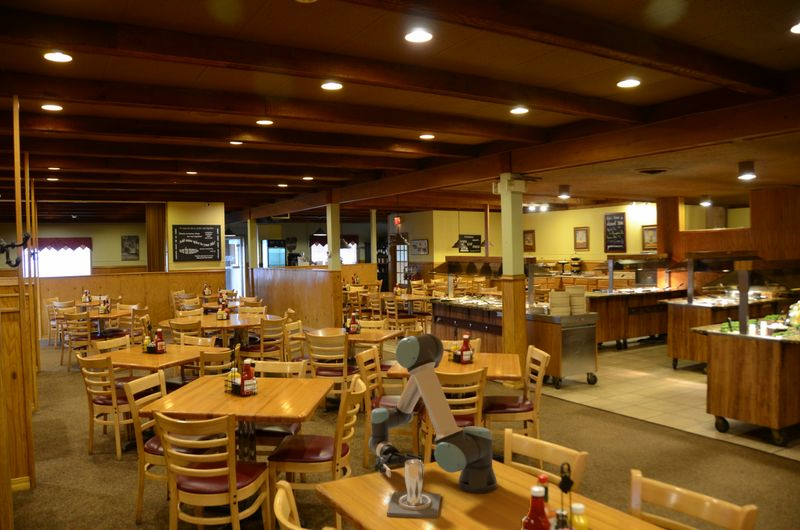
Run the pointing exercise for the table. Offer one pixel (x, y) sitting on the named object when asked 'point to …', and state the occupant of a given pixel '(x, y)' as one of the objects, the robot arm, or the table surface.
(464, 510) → the table surface
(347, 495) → the table surface
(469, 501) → the table surface
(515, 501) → the table surface
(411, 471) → the beer glass
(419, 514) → the coaster board
